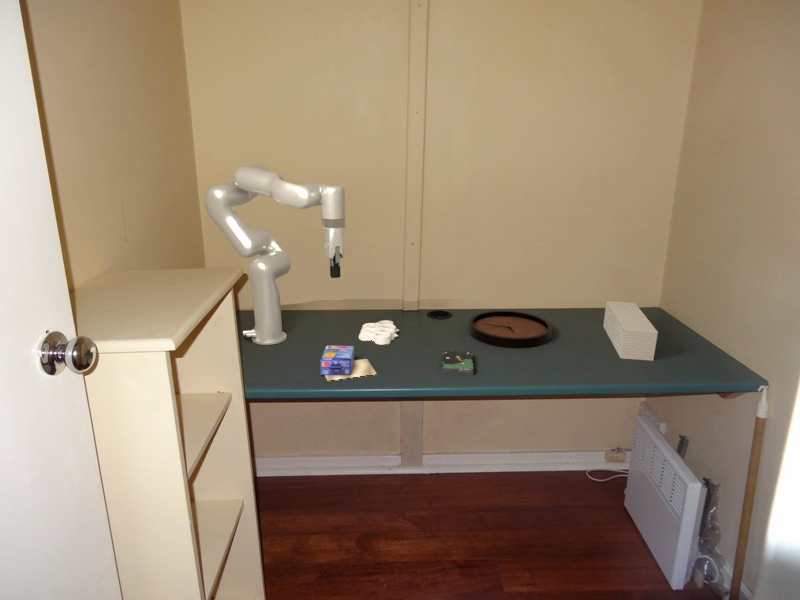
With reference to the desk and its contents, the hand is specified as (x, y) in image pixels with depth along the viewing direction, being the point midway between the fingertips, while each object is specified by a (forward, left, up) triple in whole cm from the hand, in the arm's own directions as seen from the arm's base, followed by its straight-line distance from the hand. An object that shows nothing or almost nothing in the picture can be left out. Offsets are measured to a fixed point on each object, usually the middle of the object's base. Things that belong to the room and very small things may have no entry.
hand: (335, 277), depth 184 cm
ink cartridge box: (-1, -8, -24) cm, 25 cm away
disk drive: (+36, -24, -28) cm, 51 cm away
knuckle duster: (+18, +10, -28) cm, 35 cm away
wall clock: (+67, -2, -28) cm, 73 cm away
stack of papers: (+104, -23, -28) cm, 110 cm away
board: (0, -17, -27) cm, 32 cm away
